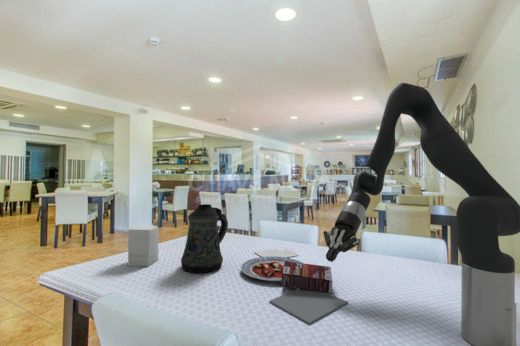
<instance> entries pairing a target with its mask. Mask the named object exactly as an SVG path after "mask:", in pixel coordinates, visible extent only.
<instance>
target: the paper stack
mask: <svg viewBox="0 0 520 346" xmlns="http://www.w3.org/2000/svg"><path fill="white" fill-rule="evenodd" d="M253 253H254V254H256V255H257V256H260V257H285V258H290V257H291V258H292V257H297V256H298V254H297V253H295V252H293V251H291V250H289V249H286V248H284V249H283V251H281V250H280V251H279V250H278V249H277V248H271V249H264V250H258V251H253Z"/></svg>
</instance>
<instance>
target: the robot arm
mask: <svg viewBox="0 0 520 346" xmlns="http://www.w3.org/2000/svg"><path fill="white" fill-rule="evenodd" d="M401 115H407V116H409V117H411V118H412V119H413V120H414V121H415V123H416V125H418V127H419V129H420V136H419V137H420V139H419V141H420V147H421V150H422V152H423V153H424V154H425V156H426V158H427V160H428V161H429V162H430V164H431V165H432V166H433V168H435V169H436V170H437V171H439V172H440V173H441V174H442V175H443V176H445V177H447V178H448V179H449V180H451V181H453V182H454V183H455V184H456V185H458V186H459V187H460V188H461V189H463V191H465V193H466V194H467V195H468V196H467V197H464V198H463V199H462V200H461V201H460V202H459V203H458V206H457V208H456V209H457V210H456V213H455V214H456V216H455V217H456V218H455V222H456V238H457V239H456V241H457V242H456V243H457V247H458V251H459V253H460V256H461V296H460V297H461V302H460V303H461V305H460V306H461V309H460V311H461V312H460V313H461V315H460V317H461V320H460V321H461V322H460V328H461V330H460V333H461V337H462V338H463V339H464V340H465V341H467V343H468V344H470V345H472V346H517V303H516V301H515V300H516V299H515V298H516V297H515V295H516V290H515V289H516V288H515V287H516V286H515V284H516V262H515V258H513V256H511V255H510V254H509V253H505V252H502V250H501V249H500V241H499V237H507V236H514V235H518V234H520V204H519V203H518V201H517V200H516V199H515V198H514V197H513V196H512V195H511V194H510V193H509V192H508V191H507V189H505V188H504V187H503V186H502V185H501V184H500V183H499V182H498V180H496V179H495V177H493V176H492V175H491V174H490V172H488V170H487V168H485V166H484V165H483V164H482V162H481V161H480V160H479V159H478V158H477V156H476V155H475V154H474V153H473V151H472V150H471V149H470V147H469V146H468V144H467V143H466V142H465V141H464V140H463V138H462V137H461V136H460V134H459V133H458V132H457V130H456V129H455V128H454V127H453V126H452V125H451V123H450V122H449V120H448V119H447V118H446V117H445V116H444V115H443V113H442V112H441V111H440V109H439V107H438V106H437V104H436V102H435V99H434V98H433V96H432V95H431V93H430V92H429V90H427V88H424V87H422V86H420V85H416V84H412V83H408V82H407V83H406V82H401V83H397V84H396V85H395V86H394V87H393V88H392V89H391V91H390V93H389V95H388V97H387V100H386V104H385V107H384V110H383V114H382V117H381V118H382V119H381V121H380V126H379V131H378V134H377V137H376V140H375V142H374V145H373V147H372V149H371V152H370V154H369V156H368V158H367V161H366V166H367V167H368V168H369V169H370V170H372V171H373V172H375V174H371V173H370V172H367V171H363V170H361V171H358V172H357V173H356V174H355V175H354V177H353V182H352V190H351V193H350V195H349V197H348V200H347V201H346V202H345V204H344V205H343V206H342V209H341V211H340V213H339V215H338V216H337V218H336V220H335V221H334V226H333V227H332V228H331V230H329V231H327V230H324V231H323V233H322V234H323V239H324V241H325V242H324V243H325V244H326V246H327V247H328V249H327V252H326V254H325V259H326V260H327V261H328V262H331V263H333V262H334V261H335V260H336V259H337V257H338V255H339V254H340V253H341V252H342V253H347V252H348V251H349V250H351V249H353V248H354V247H357V246H358V245H359V244H360V241H359V239H358V238H357V237H356V234H357V232H358V231H359V228H360V226H361V224H362V222H363V221H364V217H365V216H366V212H367V209H368V208H369V206H370V204H371V197H370V195H371V196H378V195H380V194H381V193H382V191H383V189H384V183H385V175H386V172H387V170H388V167H389V165H390V162H391V161H392V159H393V156H394V155H395V152H396V151H395V150H396V128H397V123H398V121H399V118H400V116H401Z"/></svg>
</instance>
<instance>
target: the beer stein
mask: <svg viewBox="0 0 520 346" xmlns="http://www.w3.org/2000/svg"><path fill="white" fill-rule="evenodd" d="M222 212H223V211H222V209H220V208H218V207H213V206H212V205H211V204H206V203H205V204H198V207H197V208H196V209H194V210H192V212H190V214H189V215H188V216H187V218H188V219H187V220H188V223H189V225H188V229H187V236H186V242H185V247H184V249H183V253H182V257H181V258H180V263H181V269H182V271H183V272H184V273H187V274H190V275H204V274H206V275H207V274H211V273H214V272H218V271H219V270H220V269H221V268H222V264H223V261H224V259H223V255H222V251H221V247H220V244H221V243H222V241H223V239H224V238H225V236H226V233H227V232H228V231H227V230H228V227H229V222H228V219H227V215H225V214H223V213H222ZM219 221H220V228H218V222H219Z"/></svg>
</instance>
